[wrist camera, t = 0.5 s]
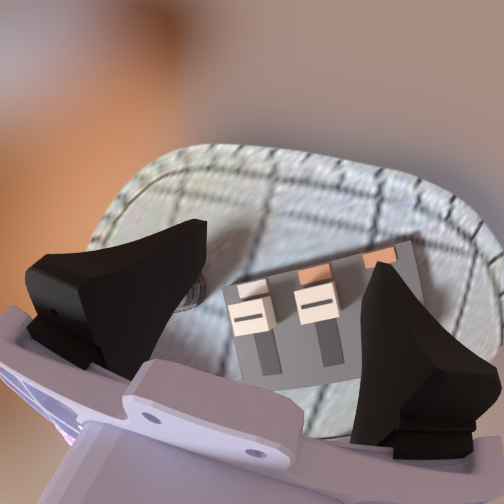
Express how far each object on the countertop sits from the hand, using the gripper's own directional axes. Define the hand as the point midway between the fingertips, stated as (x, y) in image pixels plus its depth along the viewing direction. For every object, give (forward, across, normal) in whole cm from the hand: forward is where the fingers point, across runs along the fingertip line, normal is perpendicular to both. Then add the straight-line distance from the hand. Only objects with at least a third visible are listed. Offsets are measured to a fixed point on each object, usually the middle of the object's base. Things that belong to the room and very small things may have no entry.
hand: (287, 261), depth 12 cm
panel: (+16, -6, +18) cm, 25 cm away
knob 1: (+15, +3, +18) cm, 24 cm away
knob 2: (+16, -4, +14) cm, 22 cm away
